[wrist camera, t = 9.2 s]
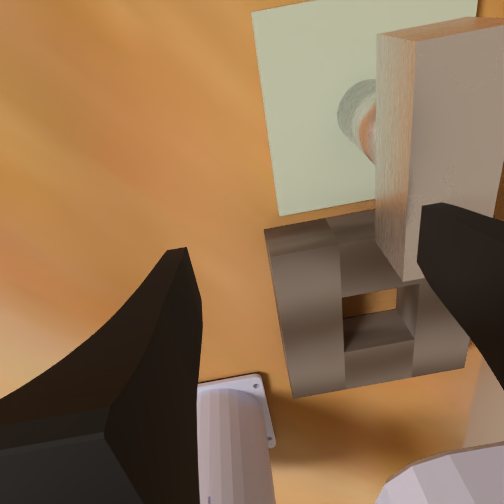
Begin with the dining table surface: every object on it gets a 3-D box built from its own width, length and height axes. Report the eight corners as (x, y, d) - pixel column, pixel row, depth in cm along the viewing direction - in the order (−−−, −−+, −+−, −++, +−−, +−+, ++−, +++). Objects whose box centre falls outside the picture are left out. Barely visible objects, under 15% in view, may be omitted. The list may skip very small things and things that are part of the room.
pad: (448, 179, 23) (454, 184, 22) (278, 211, 23) (279, 216, 22) (473, -31, 17) (482, -32, 17) (250, 12, 17) (252, 12, 17)
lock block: (442, 336, 30) (464, 367, 27) (286, 365, 30) (293, 398, 27) (463, 192, 23) (494, 215, 21) (263, 229, 23) (270, 256, 21)
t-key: (400, 13, 17) (531, 19, 10) (394, 180, 22) (483, 267, 15) (333, 25, 17) (416, 41, 10) (340, 190, 22) (403, 281, 15)
